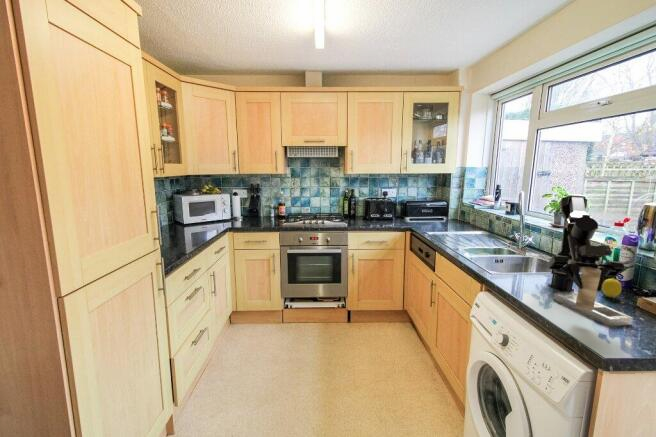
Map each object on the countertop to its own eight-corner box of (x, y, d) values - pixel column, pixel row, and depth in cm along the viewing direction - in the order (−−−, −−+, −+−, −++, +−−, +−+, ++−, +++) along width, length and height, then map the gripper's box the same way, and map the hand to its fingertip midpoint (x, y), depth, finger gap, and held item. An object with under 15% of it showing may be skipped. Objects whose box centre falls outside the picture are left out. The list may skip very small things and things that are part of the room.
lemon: (609, 294, 120) (613, 275, 119) (623, 300, 114) (627, 281, 113) (596, 294, 120) (600, 275, 118) (609, 300, 114) (613, 280, 113)
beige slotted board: (553, 299, 113) (554, 293, 113) (572, 298, 115) (573, 292, 115) (608, 326, 95) (610, 319, 94) (631, 324, 96) (632, 317, 96)
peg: (572, 304, 98) (579, 266, 95) (582, 303, 98) (590, 266, 96) (585, 310, 93) (593, 271, 91) (596, 310, 94) (605, 271, 92)
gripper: (557, 231, 98) (565, 274, 90) (628, 237, 92) (644, 284, 84) (545, 248, 107) (551, 288, 99) (609, 255, 101) (622, 298, 93)
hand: (590, 289), depth 93 cm, fingers closed on peg, 4 cm apart
